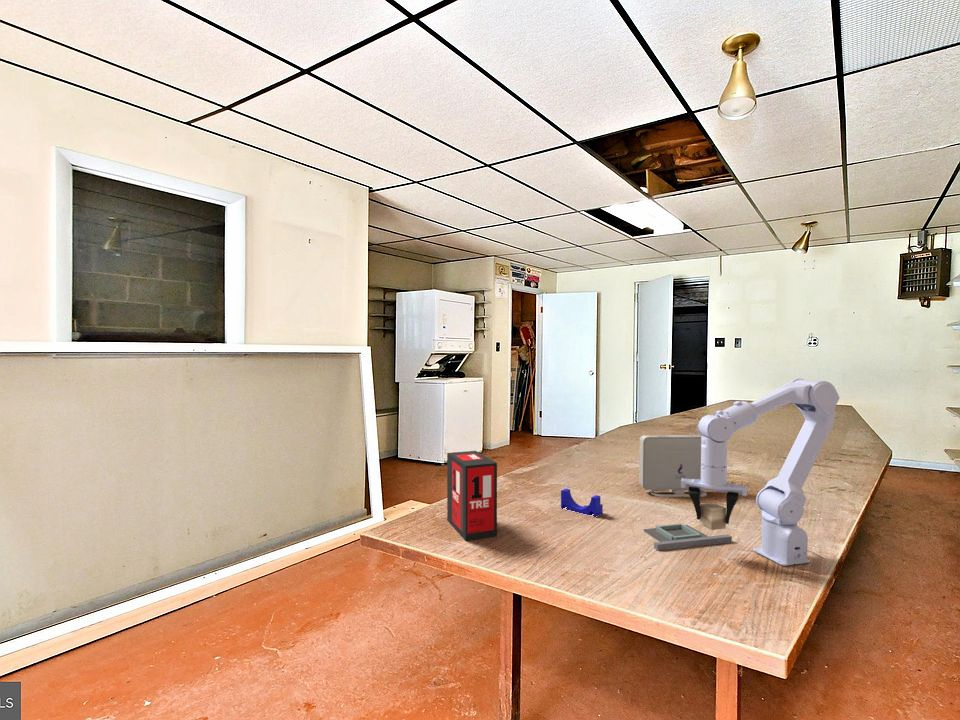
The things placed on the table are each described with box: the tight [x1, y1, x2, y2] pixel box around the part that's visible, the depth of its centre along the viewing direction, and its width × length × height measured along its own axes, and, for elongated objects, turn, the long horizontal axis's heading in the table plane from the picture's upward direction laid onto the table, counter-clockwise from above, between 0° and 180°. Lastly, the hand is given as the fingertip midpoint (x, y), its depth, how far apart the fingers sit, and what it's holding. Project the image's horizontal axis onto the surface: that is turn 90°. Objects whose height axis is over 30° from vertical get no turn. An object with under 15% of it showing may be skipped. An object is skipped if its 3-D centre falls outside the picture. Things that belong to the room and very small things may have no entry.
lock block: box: [699, 502, 727, 531], centre depth 122 cm, size 4×4×5 cm
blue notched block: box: [560, 488, 604, 518], centre depth 156 cm, size 12×4×6 cm, turn 49°
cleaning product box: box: [446, 450, 498, 542], centre depth 141 cm, size 16×9×20 cm, turn 21°
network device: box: [638, 434, 707, 498], centre depth 174 cm, size 26×9×20 cm, turn 92°
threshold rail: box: [653, 534, 733, 552], centre depth 130 cm, size 2×22×2 cm, turn 104°
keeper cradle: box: [642, 523, 708, 542], centre depth 136 cm, size 11×14×2 cm
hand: (712, 520), depth 123 cm, fingers closed on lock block, 6 cm apart
